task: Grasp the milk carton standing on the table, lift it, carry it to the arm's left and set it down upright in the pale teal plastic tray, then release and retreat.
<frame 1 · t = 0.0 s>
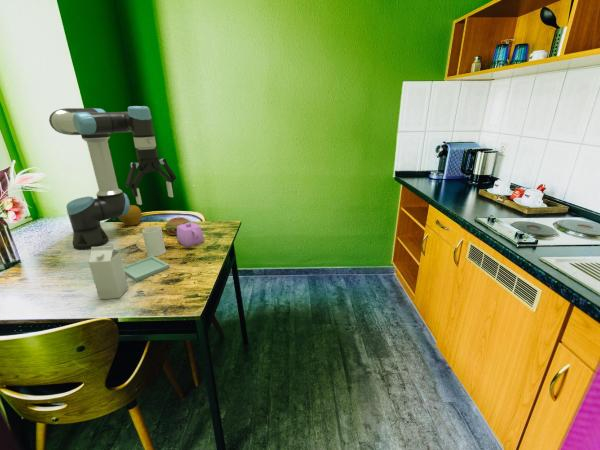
hand: (155, 200, 127), 28 cm above the table, fingers open, 13 cm apart
tray: (145, 269, 129), on the table
mug: (152, 254, 144), on the table
teapot: (190, 242, 156), on the table
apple: (131, 224, 182), on the table
food: (179, 232, 169), on the table
milk carton: (114, 293, 112), on the table
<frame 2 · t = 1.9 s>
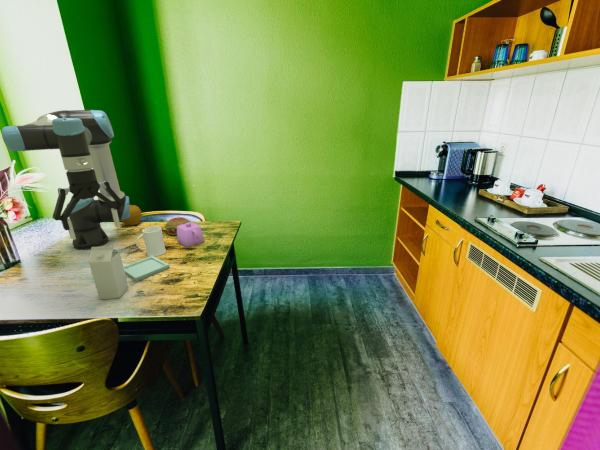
hand: (96, 232, 103), 24 cm above the table, fingers open, 13 cm apart
nothing on the table moved.
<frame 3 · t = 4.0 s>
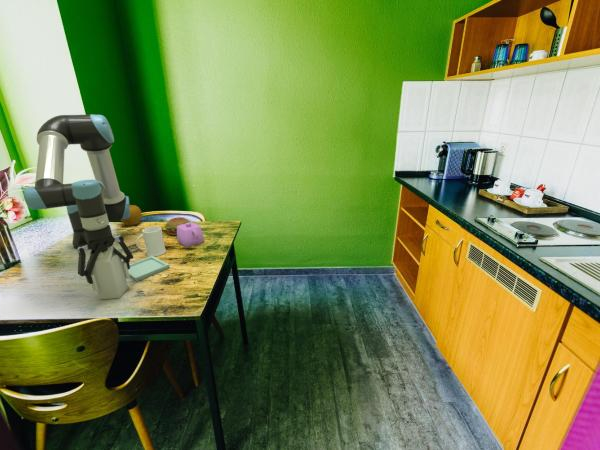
hand: (112, 283, 110), 4 cm above the table, fingers closed on milk carton, 10 cm apart
milk carton: (114, 293, 112), on the table, touching gripper
everything else where it was.
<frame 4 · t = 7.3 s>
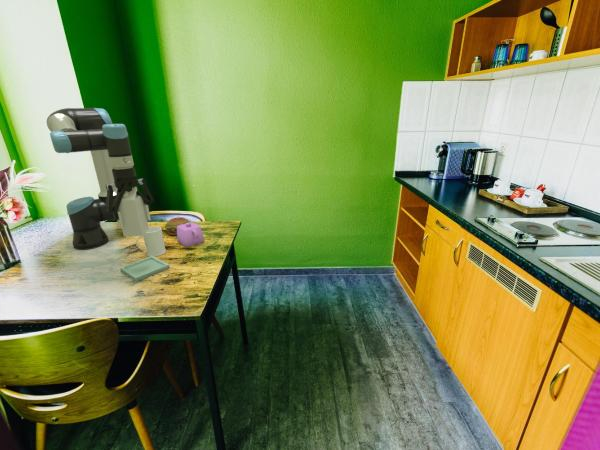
hand: (135, 223, 121), 21 cm above the table, fingers closed on milk carton, 10 cm apart
milk carton: (136, 233, 123), point 17 cm above the table, touching gripper
everything else where it was.
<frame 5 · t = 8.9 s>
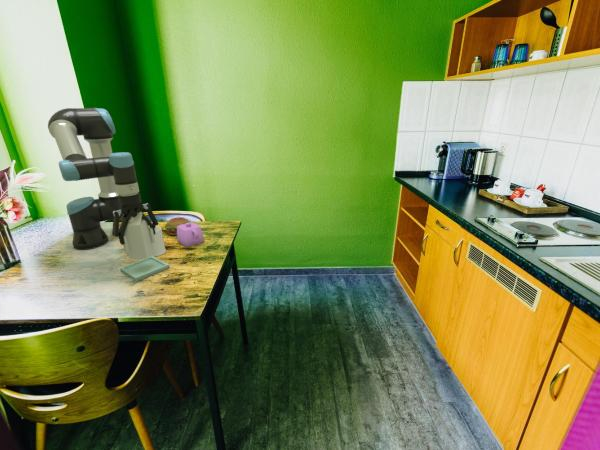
hand: (140, 246, 125), 11 cm above the table, fingers closed on milk carton, 10 cm apart
milk carton: (141, 256, 127), point 6 cm above the table, touching gripper
everything else where it was.
when the fingers open (7 cm above the table, at t = 10.3 s): milk carton drops 2 cm, resting on tray.
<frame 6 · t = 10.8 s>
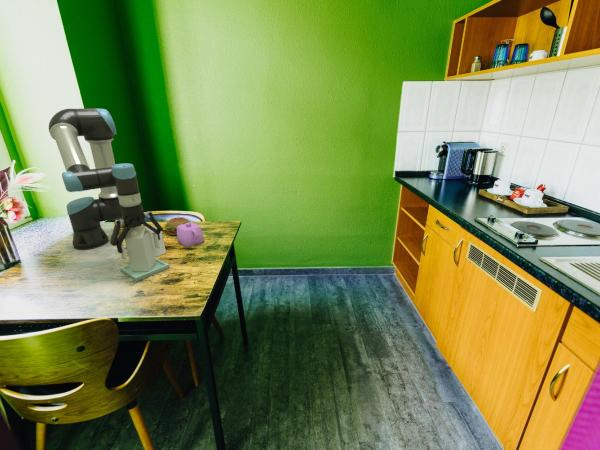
hand: (141, 253, 126), 8 cm above the table, fingers open, 13 cm apart
milk carton: (144, 268, 129), point 1 cm above the table, touching tray
everything else where it was.
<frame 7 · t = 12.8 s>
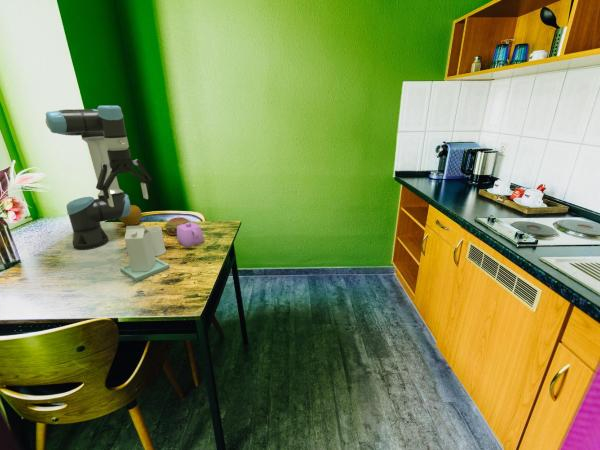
hand: (129, 202, 124), 28 cm above the table, fingers open, 13 cm apart
nothing on the table moved.
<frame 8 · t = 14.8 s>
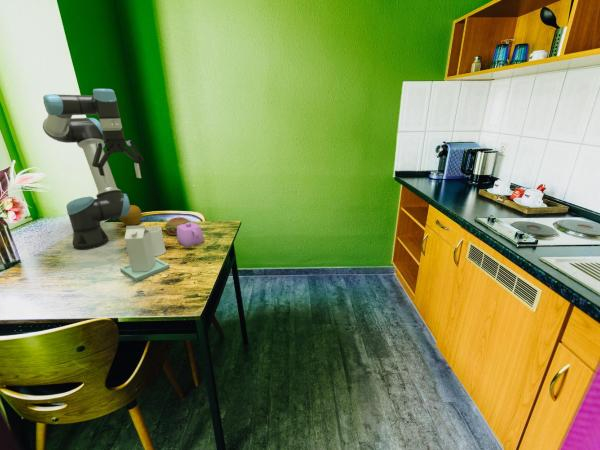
hand: (123, 180, 133), 35 cm above the table, fingers open, 13 cm apart
nothing on the table moved.
at the end: milk carton inside the target area on the tray (0.6 cm from its centre), point 0.6 cm above the tray's base; milk carton tilted 0°; the gripper is holding nothing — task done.
